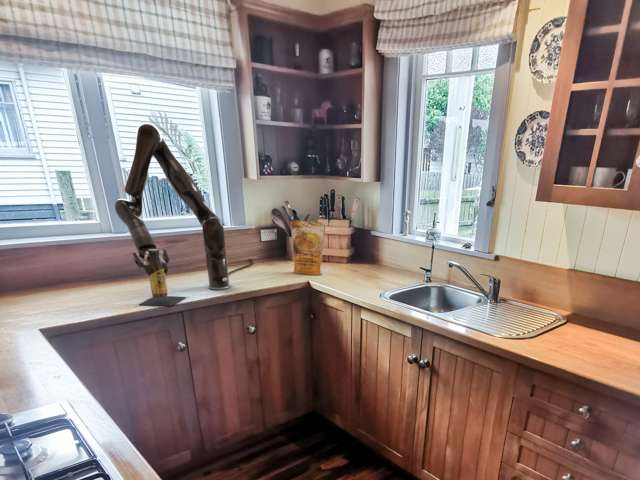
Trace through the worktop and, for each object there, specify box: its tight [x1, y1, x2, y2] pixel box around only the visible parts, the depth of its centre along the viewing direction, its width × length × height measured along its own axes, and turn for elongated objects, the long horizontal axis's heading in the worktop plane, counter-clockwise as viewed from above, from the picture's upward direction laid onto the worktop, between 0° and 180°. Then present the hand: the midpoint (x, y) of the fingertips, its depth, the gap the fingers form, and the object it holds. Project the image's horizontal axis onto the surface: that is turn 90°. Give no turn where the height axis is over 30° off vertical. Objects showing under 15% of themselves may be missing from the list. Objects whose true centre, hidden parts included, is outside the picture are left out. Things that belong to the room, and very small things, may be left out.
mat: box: [139, 295, 186, 308], centre depth 203 cm, size 14×14×1 cm
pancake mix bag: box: [289, 219, 326, 276], centre depth 255 cm, size 7×19×28 cm, turn 74°
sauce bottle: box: [147, 248, 168, 298], centre depth 197 cm, size 6×6×20 cm
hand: (158, 273), depth 196 cm, fingers closed on sauce bottle, 6 cm apart
